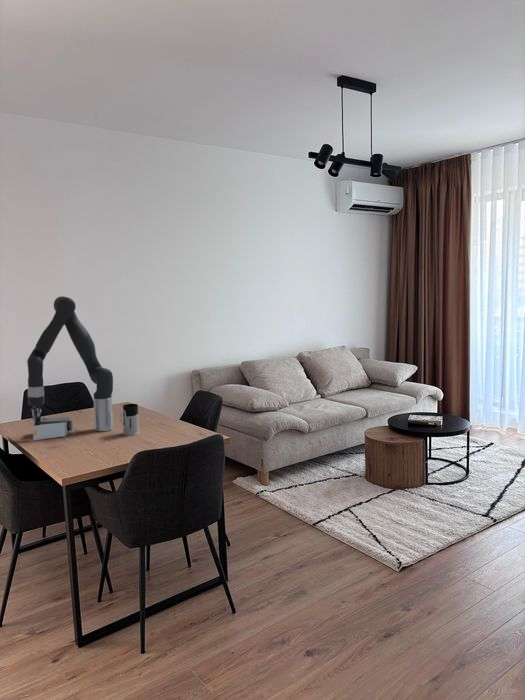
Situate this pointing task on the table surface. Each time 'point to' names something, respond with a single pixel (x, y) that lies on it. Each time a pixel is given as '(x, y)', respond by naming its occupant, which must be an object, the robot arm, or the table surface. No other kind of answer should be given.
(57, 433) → the side door
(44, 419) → the grey box with knob
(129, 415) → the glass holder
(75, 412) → the table surface
